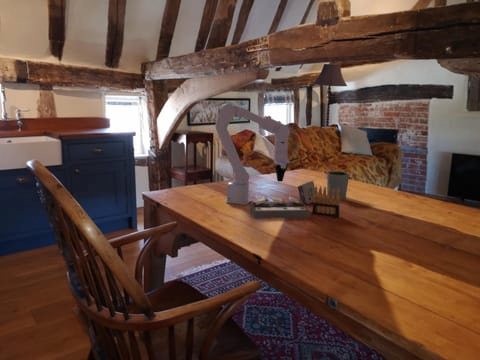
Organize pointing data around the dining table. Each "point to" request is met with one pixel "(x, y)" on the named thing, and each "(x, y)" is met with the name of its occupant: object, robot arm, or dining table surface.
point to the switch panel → (279, 210)
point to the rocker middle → (278, 200)
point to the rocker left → (261, 200)
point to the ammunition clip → (326, 203)
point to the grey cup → (338, 182)
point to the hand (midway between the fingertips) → (279, 181)
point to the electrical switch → (307, 192)
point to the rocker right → (295, 200)
